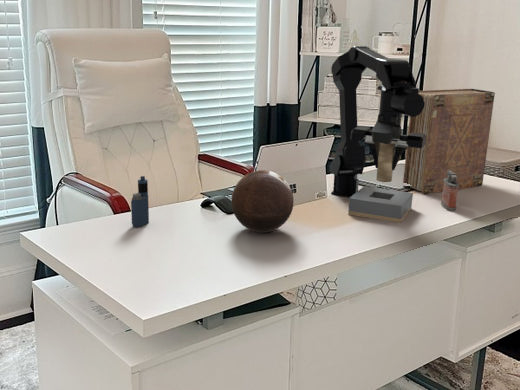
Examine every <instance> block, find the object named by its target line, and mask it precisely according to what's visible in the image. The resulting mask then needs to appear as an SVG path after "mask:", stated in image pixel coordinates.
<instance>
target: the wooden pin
mask: <svg viewBox="0 0 520 390" xmlns="http://www.w3.org/2000/svg"><path fill="white" fill-rule="evenodd" d="M395 146H396V142H394V141H392V142H391V143H390V144H384V143H380V145H379V156H378V167H377V168H376V169H377V170H376V181H377V182H381V183H391V182H392V180H393V170H392V164H393V159H394V155H395Z"/></svg>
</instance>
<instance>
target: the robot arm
mask: <svg viewBox="0 0 520 390" xmlns="http://www.w3.org/2000/svg"><path fill="white" fill-rule="evenodd" d="M330 69H331V74H332V80H333V83H334V85H335V87H336V89H337V90H338V94H339V119H340V120H339V121H340V123H339V124H340V142H339V143H338V145H337V147H336V149H335V157H334V158H333V159H332V161H331V162H330V163H329V173H331V174H332V175H333V189H332V191H331V192H330V194H331V195H336V196H344V197H349V198H350V197H352V196H353V195H354V194H355V193H356V192H357V191H359V180H360V179H359V178H358V175H363V171H364V169H365V165H366V162H367V160H366V159H367V158H366V147H365V145H366V146H368V148H369V149H370V151H371V154H372V157H373V158H372V159H373V162H374V166H375V169H377V167H378V156H379V145H380V143H384V144H390V143H391V142H397V145H395V153H394V159H393V164H392V170H393V171H395V170H396V167H397V164H398V163H399V161H400V159H401V157H402V155H403V153H404V152H405V150H406V149H408V148H409V147H414V148H422V147H424V146H425V145H426V139H427V137H426V135H425V134H421V133H413V132H411V133H410V134H409V135H408V134H402V118H403V115H404V116H408V117H410V116H411V117H415V116H418V115H419V114H420V113H421V112H422V111H423V109H424V105H425V102H424V99H423V97H422V96H421V95H420V94H418V93H419V91H420V89H419V88H417V85H416V83H417V81H416V79H415V77H414V74H413V71H412V68H411V65H410V62H409V61H408V60H406V59H399V58H389V57H388V56H387V57H386V56H385V55H383V54H380V53H379V52H377V51H375V50H373V49H371V48H370V47H368V46H366V45H361V46H359V45H358V46H357V45H356V46H355V45H354V46H352V47H350V48H349V49H348V51H346V52H344V53H343V54H341V55H339V56H338V57H337V58H336V59H335V61H334V62H333V63H332V65H331V68H330ZM367 69H369V70H371V71H373V72H374V73H375V77H376V78H377V80H379V81H380V82H381V84H379V85H378V86H377V90H378V91H380V101H379V112H378V114H377V120H376V122H375V124H374V126H373V128H371V127H368V126H367V127H366V126H360V125H358V107H357V105H358V104H357V103H358V102H357V89H358V87H359V85H360V84H361V82H362V77H363V76H362V74H363V73H364V72H365V71H366V70H367ZM363 140H364V142H363V145H362V144H361V141H363Z"/></svg>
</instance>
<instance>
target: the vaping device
mask: <svg viewBox="0 0 520 390" xmlns="http://www.w3.org/2000/svg"><path fill="white" fill-rule="evenodd" d="M139 178H140V179H138V180H137V192H136V193H133V194H132V198H131V201H130V206H131V207H130V208H131V225H132V227H133V228H142V227H144V226H146V225H148V224H149V223H150V220H149V219H150V217H149V216H150V211H149V207H150V206H149V187H148V185H149V184H148V183H149V182H148V179H146V176H145V175H144V176H143V175H141V176H140V177H139Z"/></svg>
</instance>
